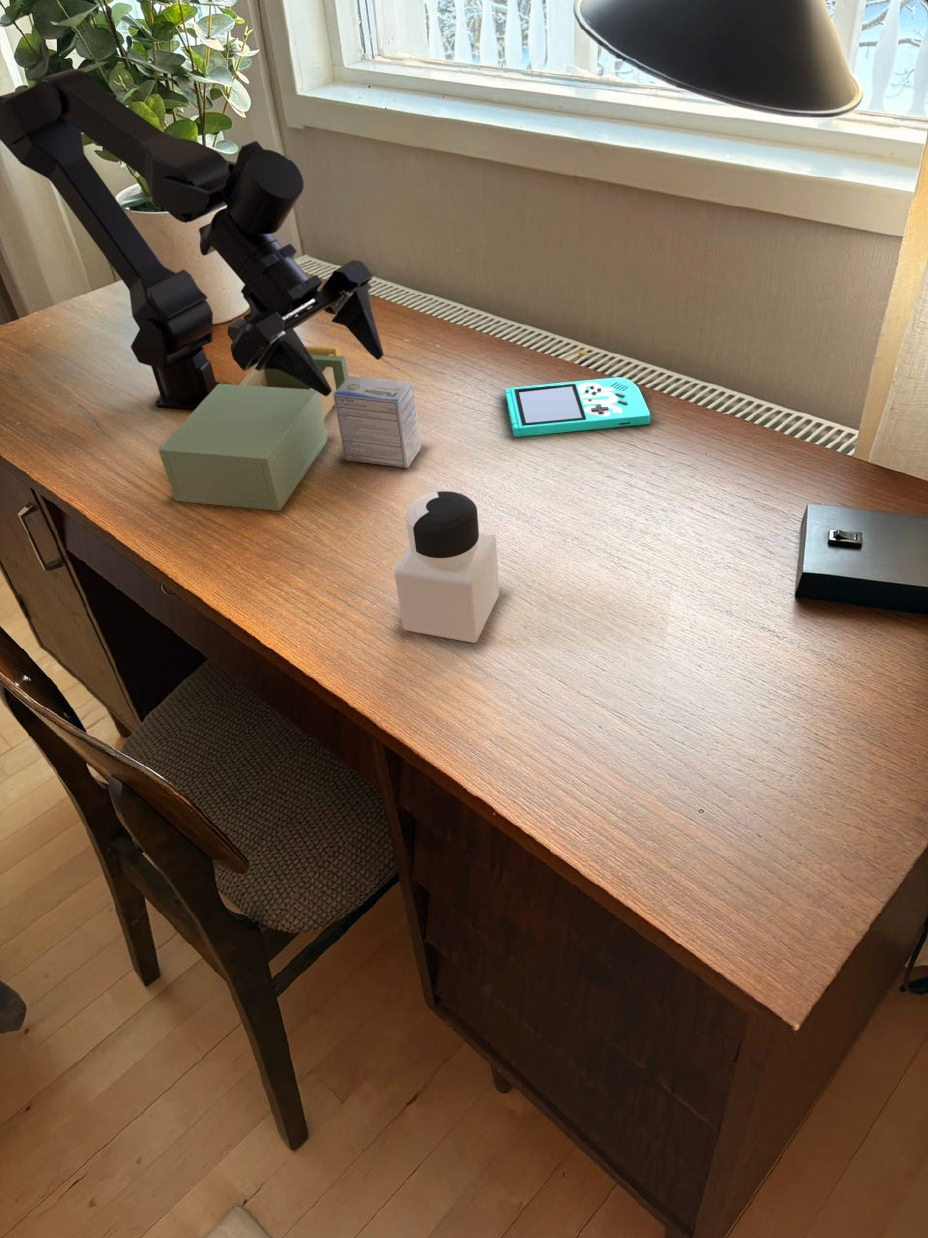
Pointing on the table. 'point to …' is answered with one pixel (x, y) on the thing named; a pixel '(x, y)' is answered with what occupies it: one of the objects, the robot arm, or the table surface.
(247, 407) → the cabinet
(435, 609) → the medicine bottle
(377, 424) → the medicine box
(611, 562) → the table surface
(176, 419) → the table surface
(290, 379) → the drawer
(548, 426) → the handheld game console
